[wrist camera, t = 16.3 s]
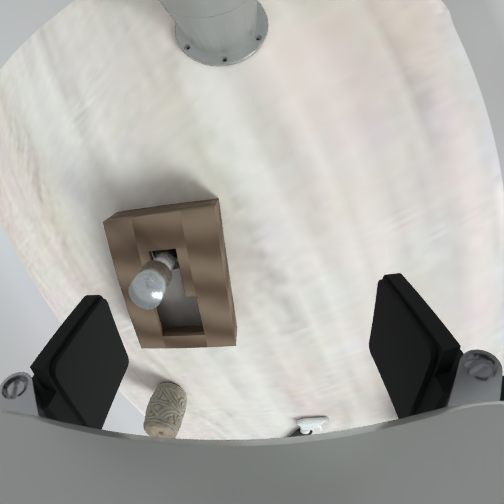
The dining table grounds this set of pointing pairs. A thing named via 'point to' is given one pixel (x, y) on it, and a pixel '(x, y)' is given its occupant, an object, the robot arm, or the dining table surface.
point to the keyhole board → (191, 266)
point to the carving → (165, 411)
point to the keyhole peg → (153, 279)
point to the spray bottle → (309, 425)
